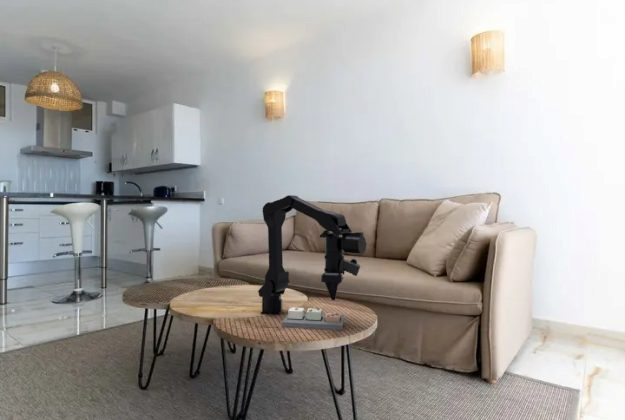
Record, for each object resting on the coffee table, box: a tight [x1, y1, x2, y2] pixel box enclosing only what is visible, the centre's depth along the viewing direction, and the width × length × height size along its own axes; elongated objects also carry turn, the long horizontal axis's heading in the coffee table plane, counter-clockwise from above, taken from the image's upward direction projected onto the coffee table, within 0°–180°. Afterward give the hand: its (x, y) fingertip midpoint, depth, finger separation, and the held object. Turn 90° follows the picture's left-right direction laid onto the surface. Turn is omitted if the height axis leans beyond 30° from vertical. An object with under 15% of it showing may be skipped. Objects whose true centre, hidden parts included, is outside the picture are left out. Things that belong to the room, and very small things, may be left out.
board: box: [281, 312, 345, 331], centre depth 130 cm, size 19×12×2 cm, turn 82°
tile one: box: [287, 306, 305, 319], centre depth 131 cm, size 4×4×3 cm
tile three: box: [325, 312, 341, 322], centre depth 129 cm, size 4×4×3 cm
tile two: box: [306, 307, 323, 320], centre depth 130 cm, size 4×4×3 cm
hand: (333, 299), depth 129 cm, fingers closed
